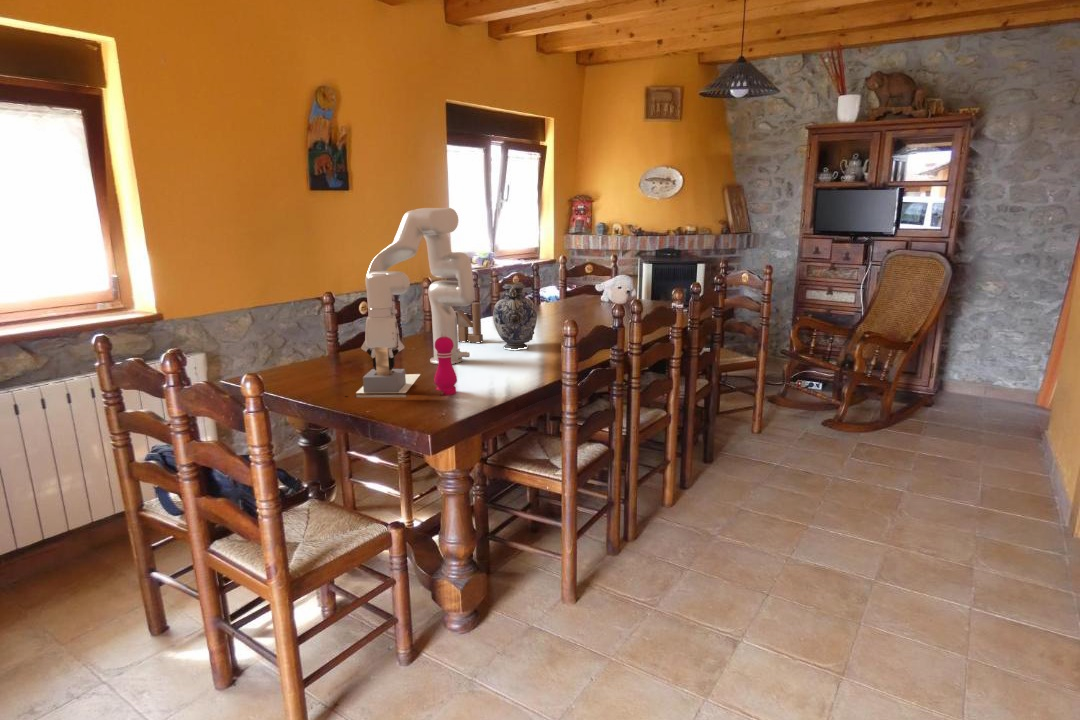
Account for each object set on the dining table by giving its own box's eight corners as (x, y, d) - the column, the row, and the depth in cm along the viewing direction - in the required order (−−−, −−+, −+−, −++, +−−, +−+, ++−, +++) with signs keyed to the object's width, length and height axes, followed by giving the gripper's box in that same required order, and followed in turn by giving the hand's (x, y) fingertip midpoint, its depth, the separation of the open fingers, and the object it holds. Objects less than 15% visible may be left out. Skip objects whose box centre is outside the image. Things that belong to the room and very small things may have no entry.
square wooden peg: (392, 380, 211) (390, 344, 209) (389, 383, 207) (387, 347, 205) (380, 380, 211) (378, 344, 209) (377, 383, 207) (374, 347, 205)
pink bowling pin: (442, 389, 213) (439, 329, 209) (461, 391, 211) (459, 330, 206) (430, 394, 207) (427, 333, 202) (450, 396, 204) (447, 334, 200)
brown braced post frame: (462, 340, 294) (460, 301, 290) (483, 342, 290) (482, 302, 286) (458, 342, 290) (456, 302, 286) (479, 343, 286) (478, 303, 282)
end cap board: (420, 378, 228) (419, 360, 226) (406, 397, 204) (404, 377, 203) (375, 378, 228) (374, 360, 226) (355, 397, 204) (354, 377, 203)
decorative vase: (536, 353, 266) (534, 285, 260) (491, 353, 267) (489, 286, 261) (538, 343, 287) (537, 280, 280) (497, 343, 287) (494, 280, 281)
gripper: (409, 311, 208) (412, 366, 212) (357, 311, 208) (361, 366, 212) (404, 314, 201) (407, 371, 205) (350, 315, 201) (355, 372, 205)
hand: (384, 368), depth 208 cm, fingers closed on square wooden peg, 3 cm apart
